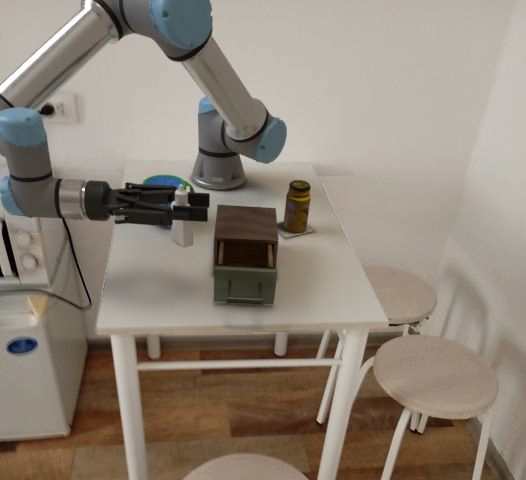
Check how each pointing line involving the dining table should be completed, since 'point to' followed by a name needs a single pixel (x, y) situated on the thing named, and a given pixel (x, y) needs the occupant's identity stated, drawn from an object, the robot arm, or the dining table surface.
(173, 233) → the eye dropper bottle
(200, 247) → the dining table surface
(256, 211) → the cabinet
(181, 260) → the dining table surface
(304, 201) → the condiment
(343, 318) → the dining table surface
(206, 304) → the dining table surface
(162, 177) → the snack cup
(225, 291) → the drawer
